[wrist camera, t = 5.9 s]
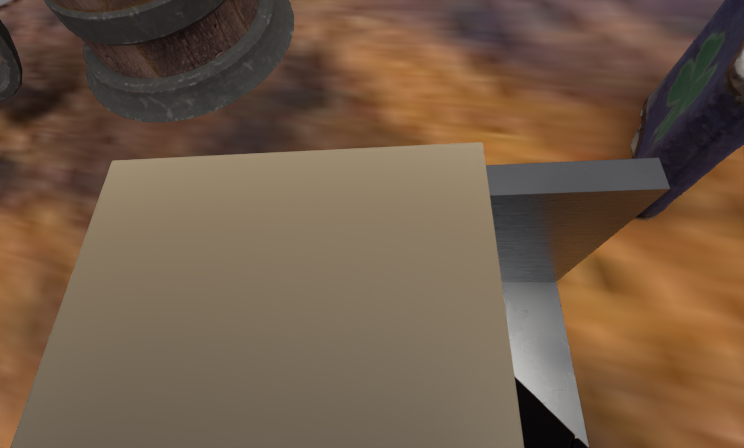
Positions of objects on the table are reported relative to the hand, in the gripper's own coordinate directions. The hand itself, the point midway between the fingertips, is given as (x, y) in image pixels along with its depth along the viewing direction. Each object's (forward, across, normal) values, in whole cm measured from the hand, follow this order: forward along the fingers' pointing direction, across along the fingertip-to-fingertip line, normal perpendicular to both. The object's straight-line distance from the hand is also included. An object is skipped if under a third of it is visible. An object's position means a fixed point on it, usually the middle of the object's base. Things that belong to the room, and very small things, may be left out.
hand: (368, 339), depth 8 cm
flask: (+16, -15, 0) cm, 22 cm away
